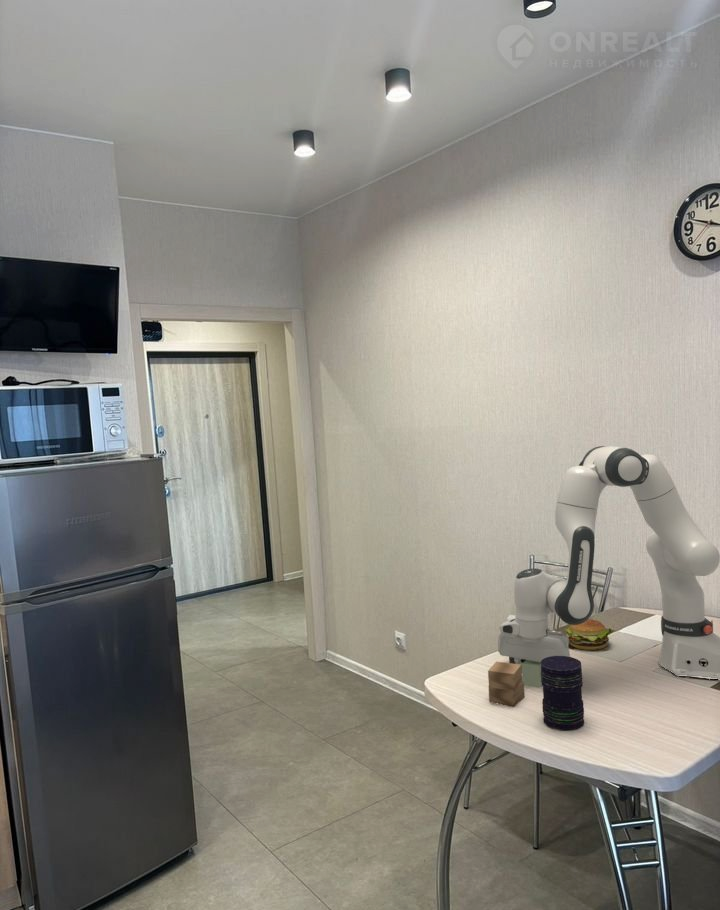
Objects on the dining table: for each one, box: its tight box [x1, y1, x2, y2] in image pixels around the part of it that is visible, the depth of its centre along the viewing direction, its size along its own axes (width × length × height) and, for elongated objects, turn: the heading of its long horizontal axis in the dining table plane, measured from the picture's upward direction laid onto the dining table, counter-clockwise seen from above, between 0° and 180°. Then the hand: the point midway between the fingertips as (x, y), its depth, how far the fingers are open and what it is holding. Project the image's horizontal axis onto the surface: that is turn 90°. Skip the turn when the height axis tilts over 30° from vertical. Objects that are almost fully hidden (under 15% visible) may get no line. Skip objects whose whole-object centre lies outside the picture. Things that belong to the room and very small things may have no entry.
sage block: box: [522, 660, 543, 688], centre depth 197 cm, size 5×5×6 cm
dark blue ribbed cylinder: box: [541, 656, 585, 732], centre depth 172 cm, size 10×10×15 cm
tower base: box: [488, 680, 525, 708], centre depth 187 cm, size 7×7×4 cm
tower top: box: [487, 661, 523, 691], centre depth 187 cm, size 7×7×4 cm
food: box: [564, 618, 612, 651], centre depth 224 cm, size 14×14×8 cm
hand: (534, 675), depth 197 cm, fingers open, 6 cm apart
